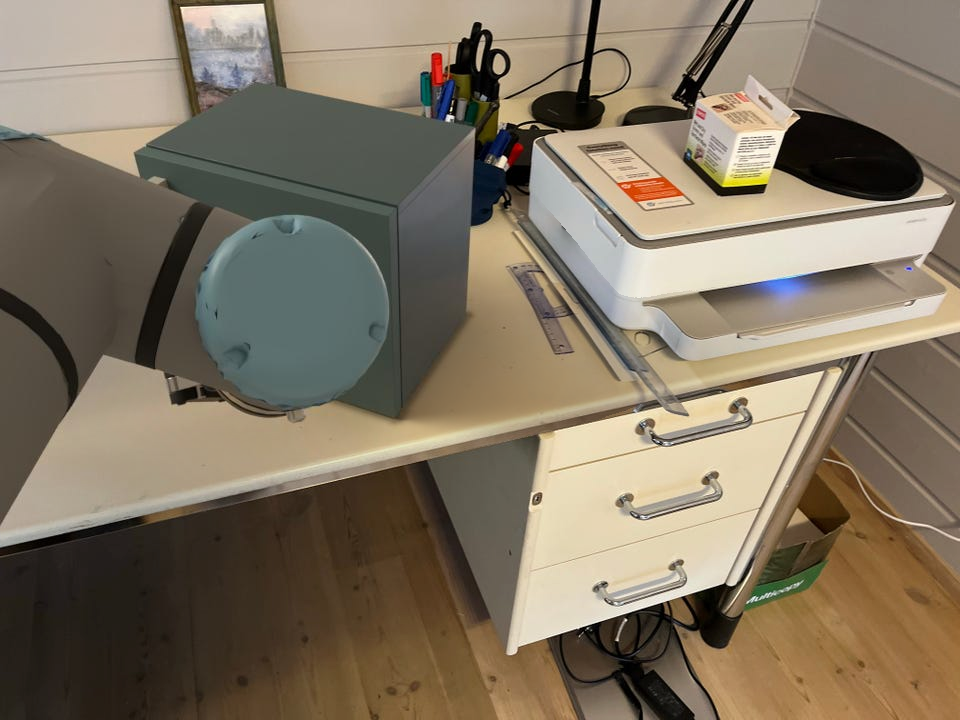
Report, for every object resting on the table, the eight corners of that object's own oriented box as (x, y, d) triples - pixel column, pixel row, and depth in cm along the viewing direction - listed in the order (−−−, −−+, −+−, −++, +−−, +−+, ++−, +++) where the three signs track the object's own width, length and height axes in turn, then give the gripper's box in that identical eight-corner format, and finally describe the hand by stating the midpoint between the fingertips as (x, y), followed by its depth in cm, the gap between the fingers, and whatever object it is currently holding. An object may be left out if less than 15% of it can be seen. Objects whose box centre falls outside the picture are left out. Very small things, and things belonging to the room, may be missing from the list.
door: (371, 452, 74) (358, 246, 58) (154, 379, 80) (91, 175, 65) (401, 409, 79) (396, 207, 63) (194, 343, 85) (144, 146, 70)
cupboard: (402, 408, 79) (398, 205, 63) (195, 343, 85) (145, 143, 70) (466, 315, 92) (475, 127, 76) (282, 264, 98) (256, 81, 83)
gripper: (170, 443, 41) (186, 444, 63) (398, 386, 45) (338, 406, 67) (137, 310, 41) (165, 357, 63) (367, 266, 45) (318, 325, 67)
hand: (254, 382), depth 65 cm, fingers closed
